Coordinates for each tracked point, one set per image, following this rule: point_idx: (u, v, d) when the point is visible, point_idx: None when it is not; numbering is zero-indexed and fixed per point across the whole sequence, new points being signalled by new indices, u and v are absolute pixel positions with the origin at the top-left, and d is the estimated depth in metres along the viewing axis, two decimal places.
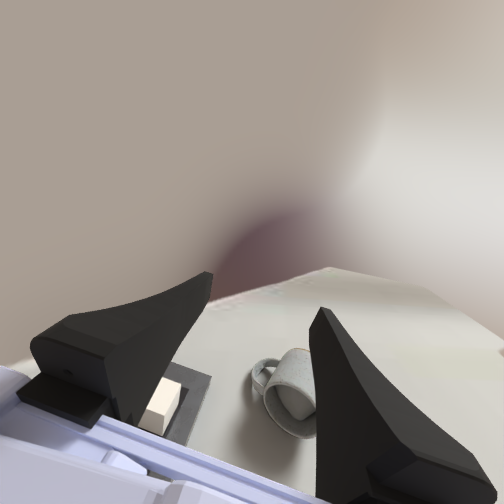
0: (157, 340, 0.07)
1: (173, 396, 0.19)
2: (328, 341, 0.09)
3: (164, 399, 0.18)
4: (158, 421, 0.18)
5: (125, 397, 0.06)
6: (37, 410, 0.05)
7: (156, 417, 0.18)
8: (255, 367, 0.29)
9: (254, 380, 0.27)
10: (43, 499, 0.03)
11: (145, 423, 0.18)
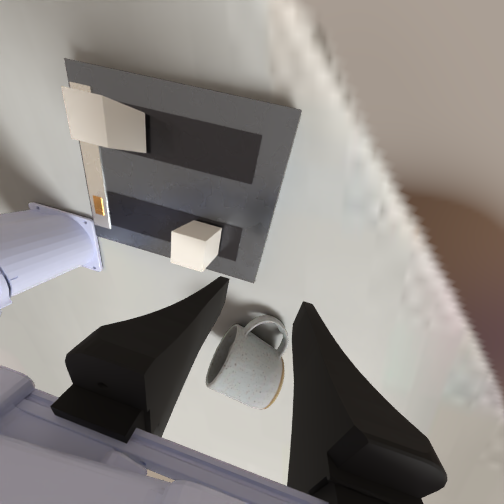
0: (183, 349, 0.07)
1: (188, 266, 0.16)
2: (306, 334, 0.09)
3: (183, 258, 0.15)
4: None
5: (156, 409, 0.06)
6: (71, 424, 0.05)
7: None
8: (277, 324, 0.23)
9: (257, 322, 0.23)
10: (43, 499, 0.03)
11: None
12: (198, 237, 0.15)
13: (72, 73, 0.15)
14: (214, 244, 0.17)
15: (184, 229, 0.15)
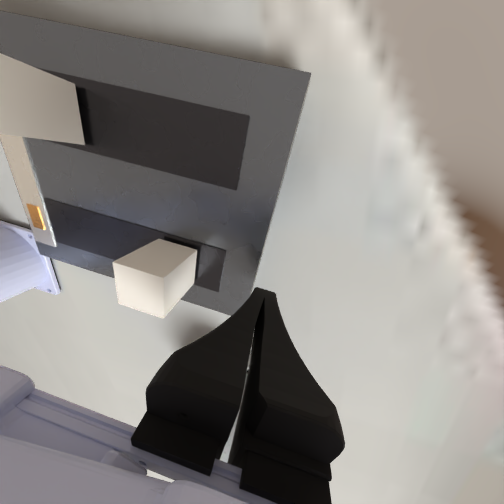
0: None
1: (143, 310, 0.11)
2: (261, 320, 0.09)
3: (134, 299, 0.10)
4: None
5: None
6: (151, 456, 0.05)
7: None
8: None
9: None
10: (43, 499, 0.03)
11: None
12: (154, 270, 0.10)
13: None
14: (184, 274, 0.12)
15: (135, 257, 0.10)
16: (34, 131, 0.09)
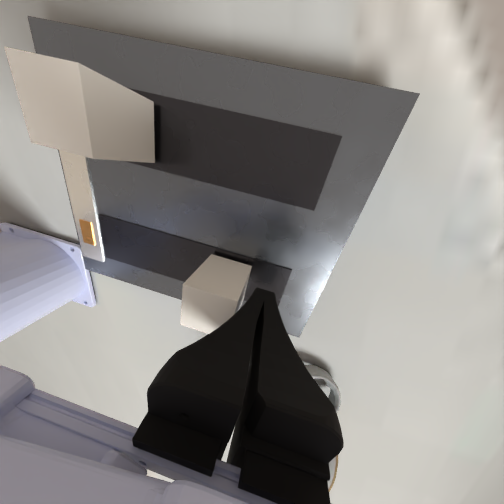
0: None
1: (207, 331, 0.10)
2: (260, 320, 0.09)
3: (199, 320, 0.10)
4: None
5: None
6: (152, 456, 0.05)
7: None
8: (326, 380, 0.17)
9: None
10: (43, 499, 0.03)
11: None
12: (225, 293, 0.09)
13: (41, 41, 0.10)
14: (243, 292, 0.12)
15: (201, 278, 0.10)
16: (120, 153, 0.09)
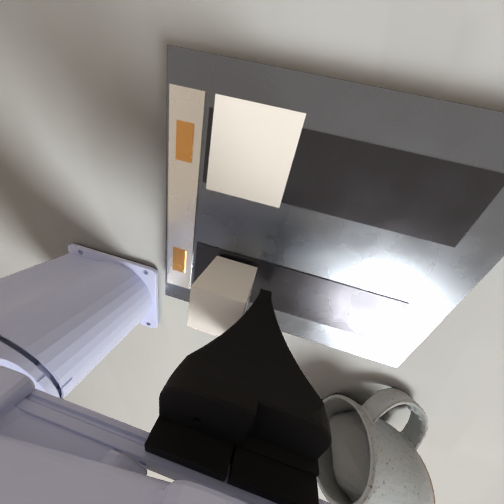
0: None
1: (214, 333, 0.10)
2: None
3: (206, 322, 0.10)
4: None
5: None
6: (164, 461, 0.05)
7: None
8: (414, 406, 0.17)
9: (389, 405, 0.16)
10: (43, 499, 0.03)
11: None
12: (233, 295, 0.09)
13: (176, 70, 0.09)
14: (249, 294, 0.12)
15: (208, 280, 0.10)
16: None
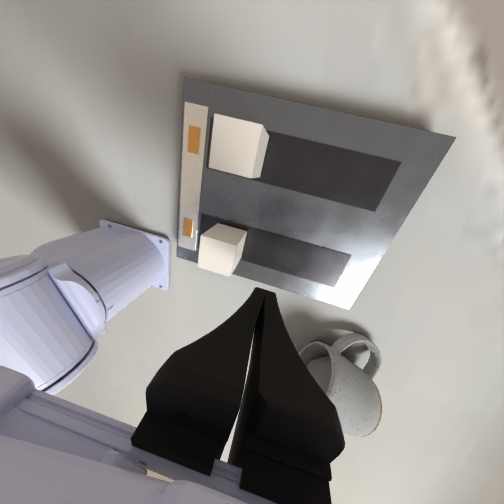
0: None
1: (215, 271, 0.15)
2: (261, 320, 0.09)
3: (210, 262, 0.15)
4: None
5: None
6: (151, 456, 0.05)
7: None
8: (370, 344, 0.21)
9: (350, 342, 0.21)
10: (43, 499, 0.03)
11: None
12: (228, 241, 0.14)
13: (189, 93, 0.14)
14: (240, 248, 0.16)
15: (212, 233, 0.15)
16: (255, 173, 0.13)
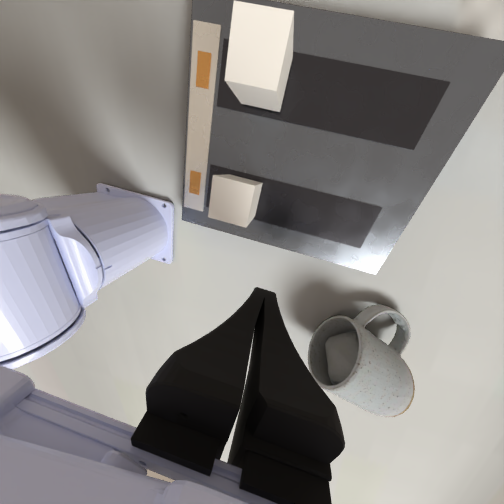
0: None
1: (229, 221, 0.13)
2: (261, 320, 0.09)
3: (224, 210, 0.13)
4: None
5: None
6: (151, 456, 0.05)
7: None
8: (398, 315, 0.19)
9: (377, 313, 0.19)
10: (43, 499, 0.03)
11: None
12: (245, 182, 0.12)
13: (199, 8, 0.12)
14: (256, 199, 0.14)
15: (225, 176, 0.13)
16: (279, 94, 0.11)
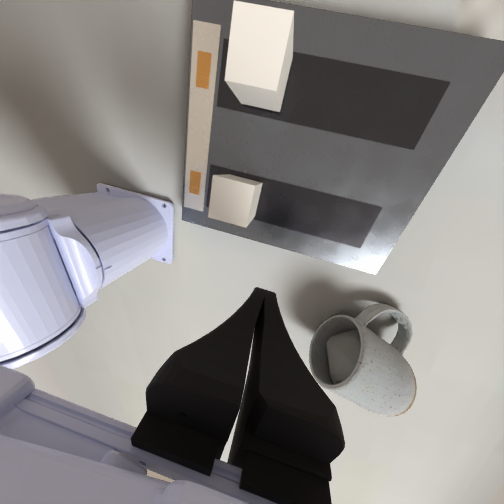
0: None
1: (229, 221, 0.13)
2: (261, 320, 0.09)
3: (224, 210, 0.13)
4: None
5: None
6: (151, 456, 0.05)
7: None
8: (400, 314, 0.19)
9: (379, 311, 0.19)
10: (43, 499, 0.03)
11: None
12: (245, 182, 0.12)
13: (199, 8, 0.12)
14: (256, 199, 0.14)
15: (225, 176, 0.13)
16: (279, 94, 0.11)
